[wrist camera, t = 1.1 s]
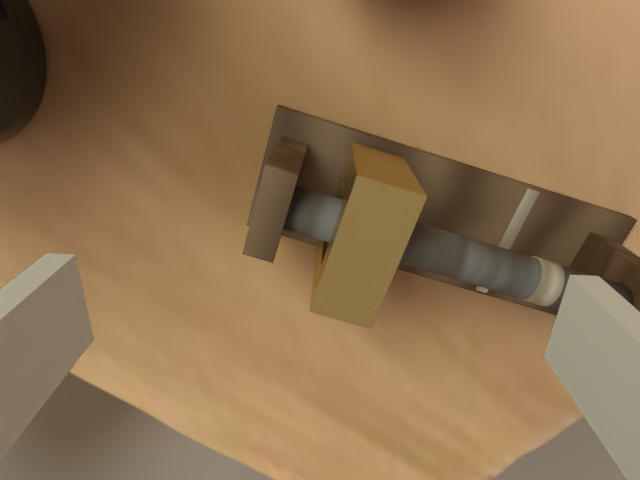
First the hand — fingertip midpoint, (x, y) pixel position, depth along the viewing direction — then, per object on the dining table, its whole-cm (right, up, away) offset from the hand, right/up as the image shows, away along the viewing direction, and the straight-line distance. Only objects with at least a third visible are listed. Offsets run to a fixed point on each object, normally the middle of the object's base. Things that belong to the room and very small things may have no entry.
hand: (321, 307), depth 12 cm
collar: (+3, +4, +22) cm, 22 cm away
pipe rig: (+10, +4, +25) cm, 27 cm away
